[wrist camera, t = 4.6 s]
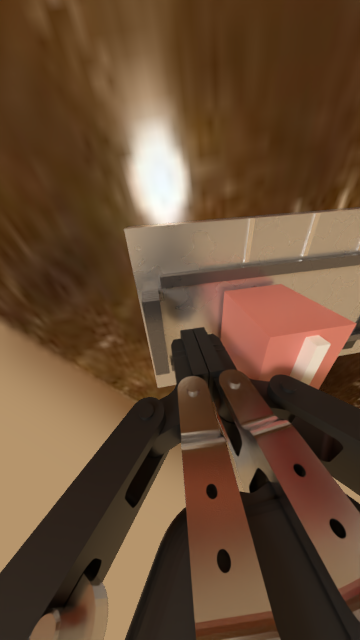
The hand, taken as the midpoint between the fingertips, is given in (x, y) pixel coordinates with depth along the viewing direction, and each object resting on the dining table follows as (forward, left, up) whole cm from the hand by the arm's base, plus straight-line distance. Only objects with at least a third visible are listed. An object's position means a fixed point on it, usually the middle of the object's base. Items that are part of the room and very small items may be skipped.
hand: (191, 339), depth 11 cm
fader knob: (-5, 0, -1) cm, 5 cm away
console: (-10, 0, -4) cm, 11 cm away
